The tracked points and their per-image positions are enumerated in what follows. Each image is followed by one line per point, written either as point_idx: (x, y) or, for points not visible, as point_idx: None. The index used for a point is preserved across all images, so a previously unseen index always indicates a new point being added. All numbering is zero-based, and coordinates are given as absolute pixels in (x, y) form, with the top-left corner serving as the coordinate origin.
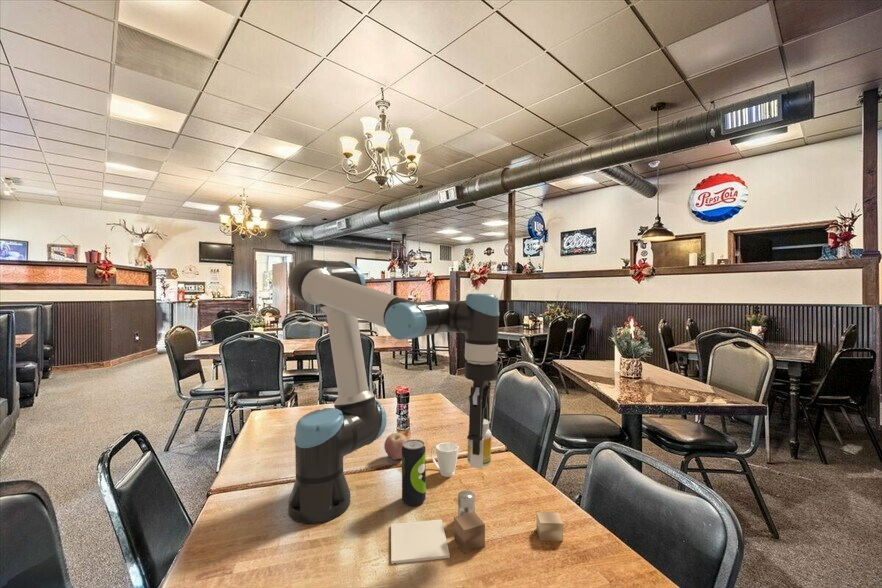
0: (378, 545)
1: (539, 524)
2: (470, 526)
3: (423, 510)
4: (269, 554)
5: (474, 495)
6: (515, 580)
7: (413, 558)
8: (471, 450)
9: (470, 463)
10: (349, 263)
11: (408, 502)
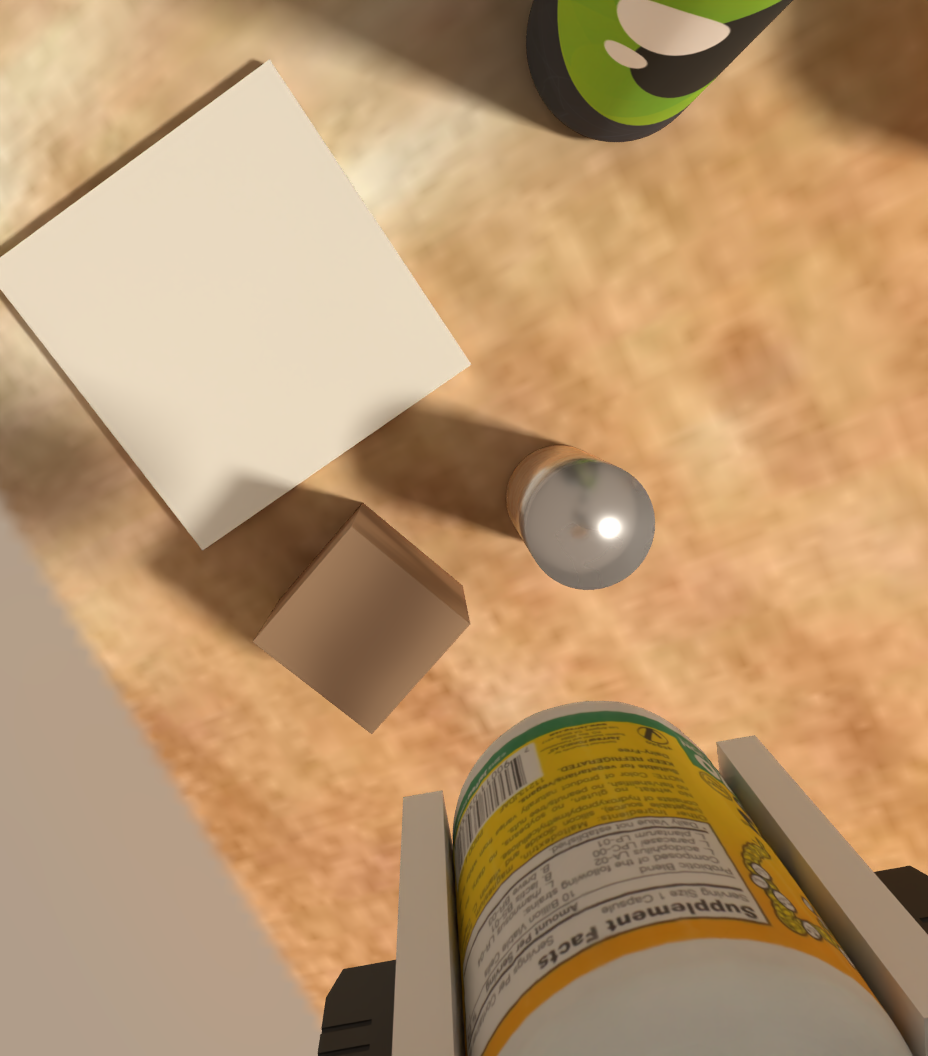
0: (79, 99)
1: None
2: (306, 663)
3: (531, 187)
4: None
5: (610, 584)
6: (231, 874)
7: (70, 378)
8: (398, 950)
9: (404, 821)
10: None
11: (528, 44)
